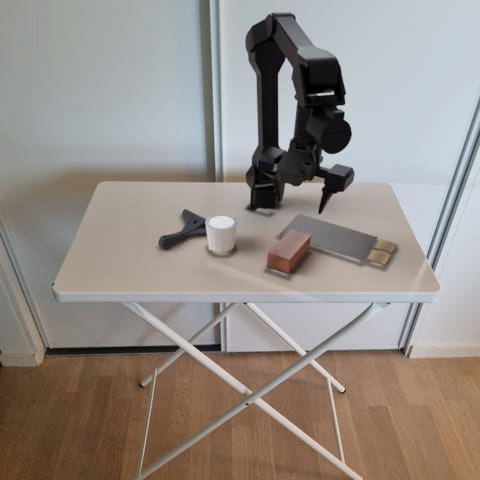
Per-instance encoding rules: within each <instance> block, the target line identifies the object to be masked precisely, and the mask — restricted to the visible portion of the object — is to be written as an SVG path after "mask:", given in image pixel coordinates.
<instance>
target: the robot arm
mask: <svg viewBox="0 0 480 480" xmlns="http://www.w3.org/2000/svg"><path fill="white" fill-rule="evenodd" d="M244 42H245V43H244V45H245V51H246V52H247V57H248V63H249V65H250V66H251V68H252V70H253V72H254V74H255V76H256V108H257V109H256V112H257V113H256V114H257V146H256V149H255V150H254V152H253V154H252V156H251V165H250V167H249V168H248V170H247V171H246V173H245V183H246V185H247V186H248V187H249V188H250V196H249V197H250V199H249V201H250V202H249V204H248V205H247V206H246V209H247V210H250V211H252V212H256V211H257V210H258V209H261V210H263V209H264V210H267V209H269V210H276V209H277V208H278V206H279V205H280V203H281V202H282V201H283V199H284V195H285V187H286V184H288V185H291V186H292V187H300V186H301V185H302V184H303V183H304V182H305V183H306V182H307V181H308V182H312V181H313V180H314V178H315V177H317V178H321V179H323V185H324V186H323V187H322V188H321V193H322V194H321V198H320V203H319V205H318V210H317V211H318V213H317V214H318V215H321V214H322V213H323V212H324V210H325V208H326V206H327V205H328V203H329V201H330V200H331V198H332V196H333V195H335V194H336V195H337V194H338V193H343V192H345V191H346V190H347V189H348V187H350V186H351V185H352V183H353V182H354V179H355V175H356V173H355V170H354V169H353V167H350V166H347V165H342V164H339V163H335V164H334V165H333V166H332V167H331V168H327V167H324V166H321V164H322V163H323V161H324V156H323V152H324V153H326V154H328V155H335V154H336V155H337V154H339V153H341V152H342V151H343V150H345V149H346V148H347V147H348V145H350V142H351V140H352V136H353V132H352V127H351V124H350V123H349V122H348V121H347V120H345V115H346V113H345V111H344V110H343V109H339V108H338V106H345V105H346V97H345V96H346V95H347V90H346V87H345V82H344V77H343V73H342V67H341V64H340V61H339V60H338V58H337V57H336V56H335V55H334V54H333V53H332V52H330V50H326V49H323V48H320V47H317V46H316V45H315V44H314V43H313V42H312V40H311V39H310V38H309V36H308V35H307V34H306V32H305V31H304V30H303V29H302V27H301V26H300V24H299V23H298V22H297V19H296V14H294V13H293V12H291V11H273V12H271V13H268V14H267V15H266V17H265V18H264V19H262V20H260V21H259V22H257V23H254V24H253V25H251V27H250V29H249V30H248V32H247V33H246V35H245V41H244ZM286 60H287V61H288V63H289V64H290V66H291V68H292V73H291V78H290V79H291V82H292V84H293V88H294V91H295V94H294V100H295V101H296V109H295V120H294V128H293V137H292V138H290V140H289V146H288V148H287V150H286V149H282V148H281V146H280V145H279V144H280V140H279V136H280V135H279V133H280V131H279V130H280V129H279V73H280V71H281V70H282V68H283V65H284V63H285V61H286ZM331 93H333V94H331ZM319 94H320V95H319ZM322 94H323V95H322Z"/></svg>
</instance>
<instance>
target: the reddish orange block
mask: <svg viewBox="0 0 480 480" xmlns="http://www.w3.org/2000/svg"><path fill="white" fill-rule="evenodd" d="M310 242H311V235H308V234H305V233H302V232H299V231H296V230H292V229H290V230H289V231H288V232H287V233H286V235H285V236H284V235H283V236H282V237H281V239H280V240H278V242H276V244H275V245H274V246H273V247H272V248H271V249H270V250H269V251H267V258H266V267H267V268H269V269H272V270H275V271H278V272H280V273H283V274H286V275H289V274H290V273H291V271H292V270H293V269H294V268H295V267H296V266H297V264H298V263H299V262H300V261H301V260H302V258H303V257H304V256H305V255H306V254H307V253H308V252H309V250H310V248H311V244H310Z"/></svg>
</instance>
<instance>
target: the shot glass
mask: <svg viewBox="0 0 480 480" xmlns="http://www.w3.org/2000/svg"><path fill="white" fill-rule="evenodd" d="M205 219H206V221H205V224H206V227H205V229H206V231H207V234H206V238H207V245H208V246H207V247H208V251H211V250H212V251H214V252H217V253H225V252H230V251H231V250H233V249H234V247H235V242H236V237H237V229H238V227H237V226H238V220H237V219H236V218H235V217H234V216H232V215H229V214H223V213H220V214H219V213H217V214H213V215H210V216H209V217H207V218H205Z"/></svg>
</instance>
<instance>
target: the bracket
mask: <svg viewBox="0 0 480 480" xmlns="http://www.w3.org/2000/svg"><path fill="white" fill-rule="evenodd" d="M181 213H182V217H183V219H184V221H185V225H184V227H183V228H182V229H181V230H180V231H177V232H174V233H170V234H165V235H161V236H160V238H159V239H158V242H157V245H158V246H159V247H160V248H162V249H164V250H165V249H169V248H170V247H172V246H174V245H176V244H178V243H179V242H182V241H183V240H185V239H187V238H189V237H191V236H194V235H207V231H206V224H205V221H206V219H207V218H204V217H202V216H201V215H198V214H197V213H195V212H192V211H190V210H189V209H187V208H184V209H183V210H182V212H181Z"/></svg>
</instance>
